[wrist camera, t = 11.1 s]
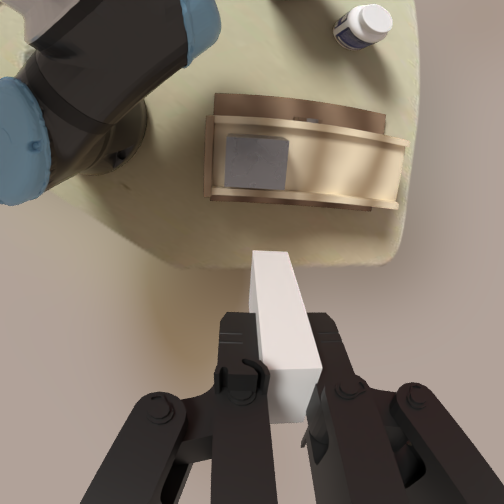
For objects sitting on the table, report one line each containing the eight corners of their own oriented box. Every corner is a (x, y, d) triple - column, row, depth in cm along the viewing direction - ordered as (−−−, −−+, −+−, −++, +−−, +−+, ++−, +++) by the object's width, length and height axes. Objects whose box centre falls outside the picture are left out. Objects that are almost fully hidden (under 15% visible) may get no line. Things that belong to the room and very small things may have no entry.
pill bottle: (370, 51, 33) (402, 40, 24) (336, 51, 33) (362, 37, 25) (363, 19, 31) (392, 1, 22) (328, 18, 31) (352, -3, 22)
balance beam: (207, 190, 37) (203, 201, 33) (210, 111, 32) (206, 111, 28) (385, 204, 38) (400, 216, 34) (397, 134, 34) (414, 138, 30)
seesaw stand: (211, 198, 43) (207, 209, 38) (215, 93, 36) (212, 91, 31) (367, 208, 44) (381, 220, 40) (382, 114, 38) (398, 116, 33)
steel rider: (226, 176, 34) (224, 186, 29) (228, 133, 31) (226, 136, 27) (278, 179, 34) (284, 190, 30) (282, 136, 32) (289, 140, 27)
